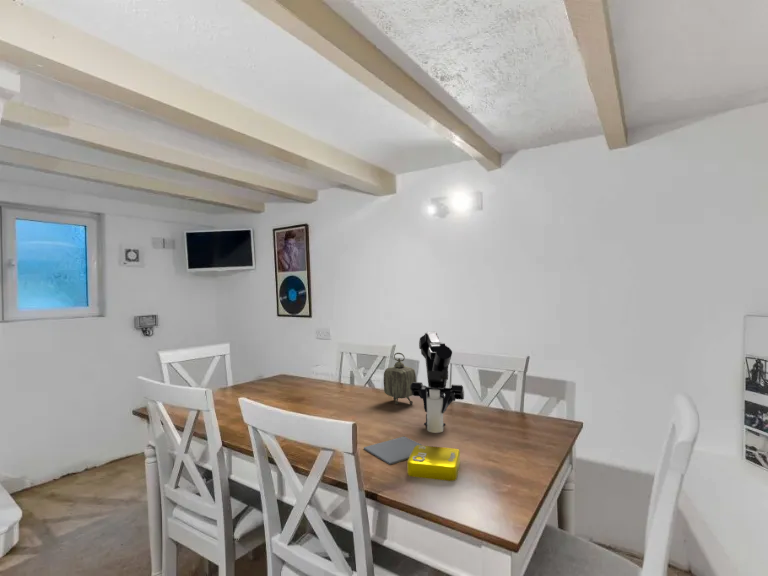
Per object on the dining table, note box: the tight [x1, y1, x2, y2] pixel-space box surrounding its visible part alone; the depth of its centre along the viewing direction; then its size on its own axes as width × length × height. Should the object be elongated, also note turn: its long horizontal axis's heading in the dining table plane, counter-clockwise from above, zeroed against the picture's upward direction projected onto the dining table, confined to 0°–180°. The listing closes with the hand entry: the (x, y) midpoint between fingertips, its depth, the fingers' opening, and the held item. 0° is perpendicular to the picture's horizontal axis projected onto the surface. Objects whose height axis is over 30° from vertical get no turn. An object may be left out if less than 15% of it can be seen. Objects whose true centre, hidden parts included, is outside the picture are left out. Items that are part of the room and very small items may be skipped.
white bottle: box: [426, 389, 444, 434], centre depth 141 cm, size 6×6×14 cm
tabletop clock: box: [383, 352, 417, 405], centre depth 199 cm, size 14×9×25 cm, turn 46°
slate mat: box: [363, 436, 424, 466], centre depth 141 cm, size 18×16×1 cm
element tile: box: [406, 444, 461, 482], centre depth 127 cm, size 15×15×5 cm
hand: (434, 412), depth 140 cm, fingers closed on white bottle, 6 cm apart
